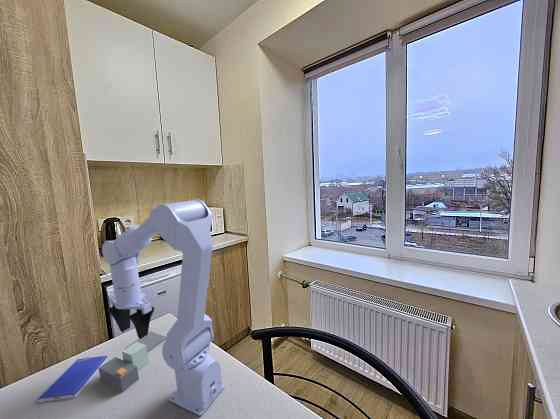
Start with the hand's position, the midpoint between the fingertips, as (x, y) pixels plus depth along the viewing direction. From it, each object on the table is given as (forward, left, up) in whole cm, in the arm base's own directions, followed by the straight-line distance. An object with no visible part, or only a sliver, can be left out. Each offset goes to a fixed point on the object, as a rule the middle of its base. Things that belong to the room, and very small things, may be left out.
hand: (134, 332), depth 64 cm
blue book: (+12, +9, -10) cm, 18 cm away
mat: (+7, -7, -9) cm, 13 cm away
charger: (0, +1, -10) cm, 10 cm away
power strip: (0, +5, -9) cm, 11 cm away
